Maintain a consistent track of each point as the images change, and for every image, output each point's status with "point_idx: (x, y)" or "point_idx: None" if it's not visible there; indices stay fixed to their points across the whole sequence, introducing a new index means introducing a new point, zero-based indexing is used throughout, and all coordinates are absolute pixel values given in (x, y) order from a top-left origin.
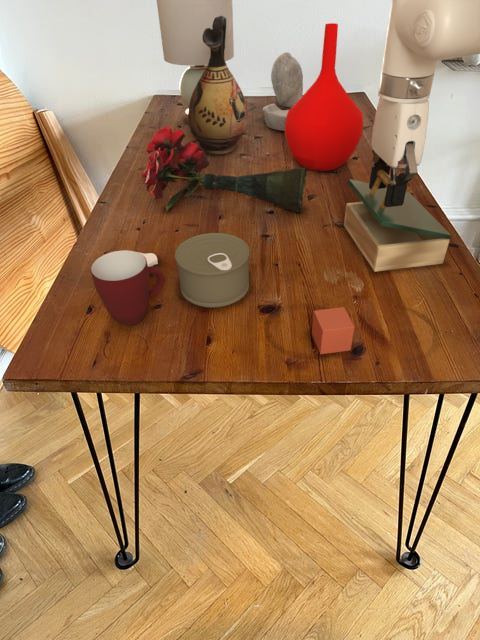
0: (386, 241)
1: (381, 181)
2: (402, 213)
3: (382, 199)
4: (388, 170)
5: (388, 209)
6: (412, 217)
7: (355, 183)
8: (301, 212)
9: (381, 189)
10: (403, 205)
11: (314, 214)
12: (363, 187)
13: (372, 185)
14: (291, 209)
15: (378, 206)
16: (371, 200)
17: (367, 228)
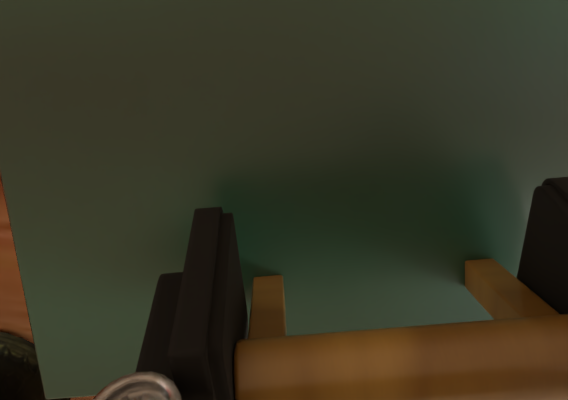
0: None
1: (237, 297)
2: (511, 114)
3: (311, 214)
4: (222, 334)
5: (488, 227)
6: (554, 36)
7: (113, 369)
8: (21, 338)
9: (78, 144)
10: (330, 27)
11: (21, 288)
12: None
13: (247, 335)
14: (41, 393)
15: (474, 302)
16: (385, 326)
17: None
